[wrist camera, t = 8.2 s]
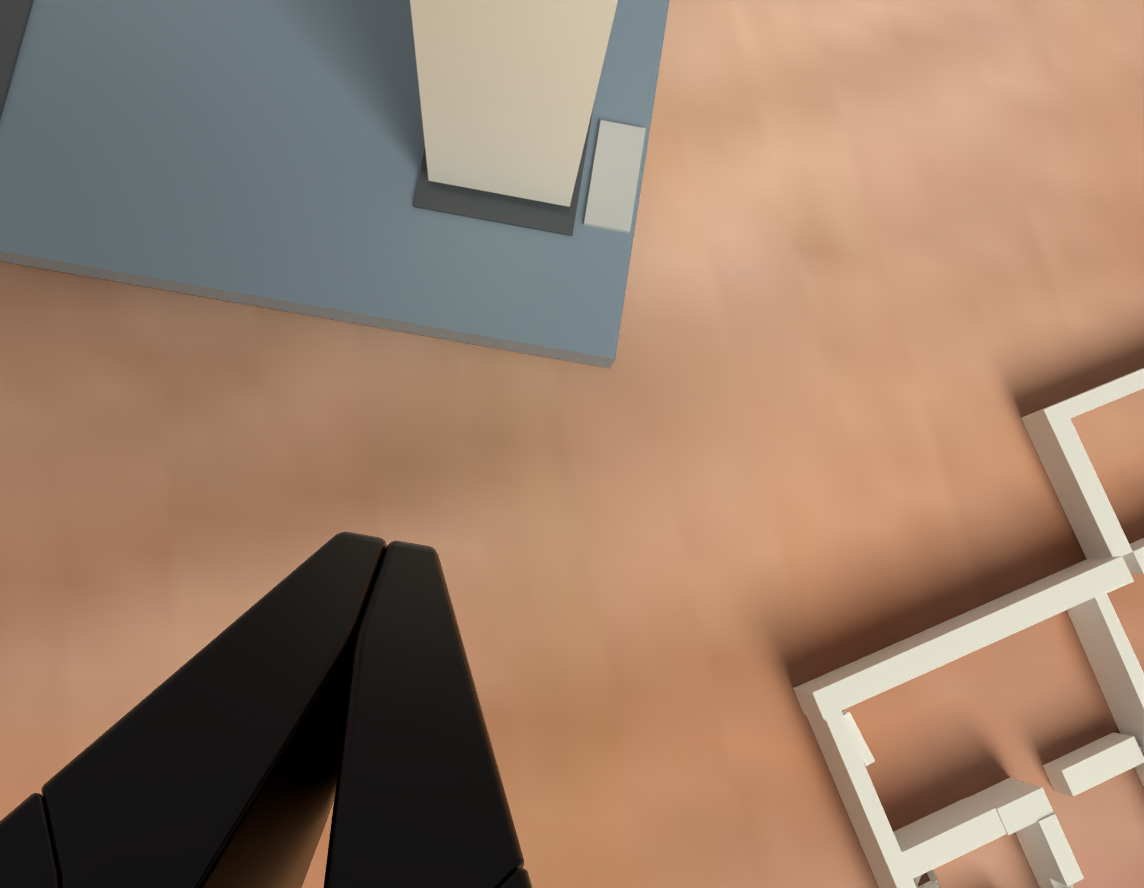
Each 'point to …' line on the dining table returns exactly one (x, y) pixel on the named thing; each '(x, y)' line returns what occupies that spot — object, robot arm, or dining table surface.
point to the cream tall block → (509, 91)
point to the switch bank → (305, 170)
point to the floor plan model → (1079, 589)
